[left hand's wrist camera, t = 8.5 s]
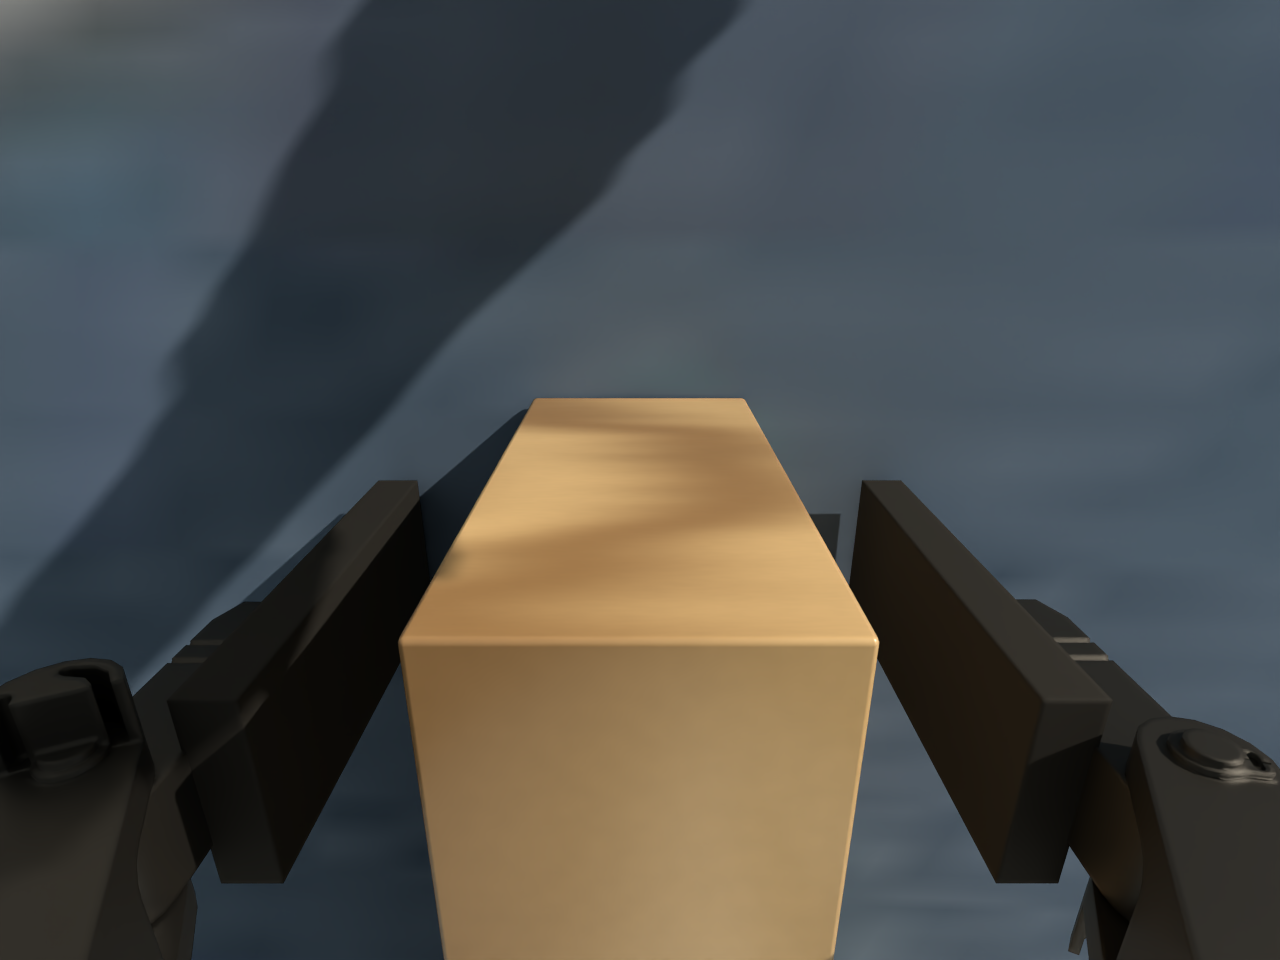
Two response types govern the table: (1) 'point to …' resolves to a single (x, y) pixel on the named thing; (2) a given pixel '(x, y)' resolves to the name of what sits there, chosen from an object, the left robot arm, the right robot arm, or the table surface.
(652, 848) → the oak beam
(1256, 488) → the table surface
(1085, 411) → the table surface
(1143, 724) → the left robot arm
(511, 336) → the table surface
